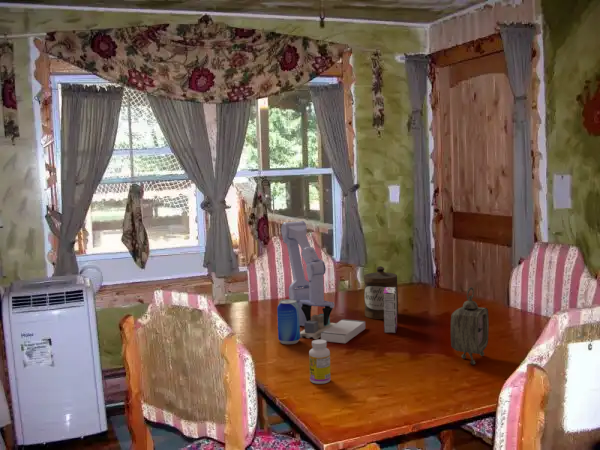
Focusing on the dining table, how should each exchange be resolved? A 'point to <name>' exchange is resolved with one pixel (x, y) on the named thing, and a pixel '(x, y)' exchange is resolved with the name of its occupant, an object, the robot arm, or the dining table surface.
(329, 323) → the block
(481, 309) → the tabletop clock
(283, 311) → the beer can
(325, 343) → the supplement bottle
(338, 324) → the dock
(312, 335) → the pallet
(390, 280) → the wooden container
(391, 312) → the candy bar box
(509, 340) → the dining table surface
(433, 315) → the dining table surface
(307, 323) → the grey cube
